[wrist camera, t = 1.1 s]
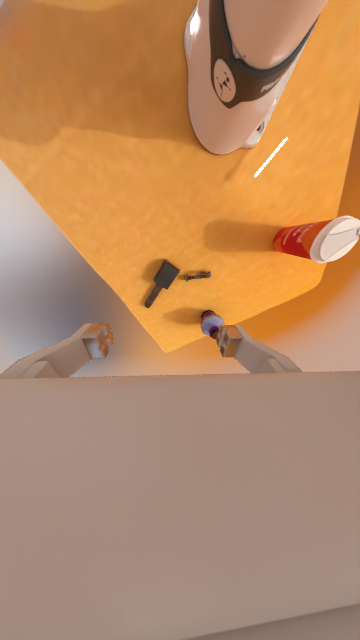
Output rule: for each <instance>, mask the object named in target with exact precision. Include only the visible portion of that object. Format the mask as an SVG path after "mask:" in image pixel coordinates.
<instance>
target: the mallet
mask: <svg viewBox="0 0 360 640" xmlns="http://www.w3.org/2000/svg"><path fill="white" fill-rule="evenodd" d="M179 271H180V269H178V268H177V267H176V266H174V265H173V264H172V263H170V262H169V261H167V260H166V259H165V261H164V262H163V264H162V266H161V268H160V269H159V271H158V273H157V274H156V276H155V278H154V281H155V282H156V283H157V284H156V286H155V288H154V289H153V291H152V293H151V294H150V296H149V297H148V299H147V301H146V302H145V307H146V308H149V307H150V306H151V305H152V303H153V301H154V300H155V298H156V297H157V295H158V294H159V292H160V291H161V289H162V287H164V288H165V289H168V288H169V286H170V285H171V283H172V282H173V280H174V279H175V277H176V276H177V274H178V273H179Z"/></svg>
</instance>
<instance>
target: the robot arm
mask: <svg viewBox="0 0 360 640" xmlns="http://www.w3.org/2000/svg"><path fill="white" fill-rule="evenodd" d="M328 1H329V0H198V2H197V5H196V6H195V8H194V10H193V12H192V14H191V16H190V18H189V20H188V22H187V24H186V28H185V34H184V49H185V56H186V61H187V66H188V108H189V115H190V119H191V123H192V127H193V130H194V132H195V134H196V136H197V138H198V140H199V141H200V143H201V144H202V145H203V146H204V147H205V148H206V149H207V150H208V151H210V152H212V153H214V154H218V155H223V154H228V153H230V152H232V151H234V150H236V149H238V148H241V147H242V148H253V147H254V146H255V145H256V144H257V143H258V141H259V140H260V138H261V136H262V133H263V131H264V129H265V127H266V125H267V123H268V121H269V119H270V117H271V115H272V113H273V111H274V109H275V107H276V105H277V103H278V101H279V98H280V96H281V94H282V92H283V90H284V88H285V86H286V84H287V82H288V80H289V78H290V76H291V74H292V72H293V70H294V68H295V66H296V64H297V61H298V59H299V57H300V55H301V53H302V51H303V49H304V47H305V45H306V43H307V41H308V39H309V37H310V35H311V33H312V31H313V29H314V26H315V24H316V22H317V20H318V18H319V15H320V13H321V12H322V10H323V9H324V7H325V6H326V4H327V3H328ZM258 127H259V131H257V128H258ZM287 139H288V138H285V139H284V140H283V142H282V143H281V144H280V145H279V147H278V148H277V149H276V150H275V151H274V153H273V154H272V155H271V156H270V157H269V159H268V160H267V161H266V162H265V163H264V165H263V166H262V167H261V168H260V169H259V171H258V172H257V173H256V174H255V175H254V177H256V176H257V175H258V174H259V173H260V171H261V170H262V169H263V168H264V167H265V165H266V164H267V163H268V162H269V161H270V159H271V158H272V157H273V156H274V155H275V153H276V152H277V151H278V150H279V149H280V148H281V146H282V145H283V144H284V143H285V142H286V140H287ZM110 330H111V327H110V325H109V324H98V323H97V324H96V323H95V324H93V323H86V324H84V325H83V326H82V327H81V328H80V329H79V330H78V331H77V332H76V333H75V334H74V335H73V336H72V337H71V338H67V339H64V340H62V341H60V342H58V343H56V344H53V345H51V346H49V347H47V348H44V349H42V350H40V351H38V352H35V353H33V354H31V355H29V356H27V357H24V358H22V359H20V360H18V361H16V362H15V363H14V364H13V365H11V366H10V367H9V368H8V369H7V370H5V371H4V372H3V373H2V374H0V640H360V371H338V372H302V371H301V370H300V369H299V368H298V367H297V366H296V365H295V364H294V363H293V361H291V359H290V358H289V357H287V356H285V355H283V354H281V353H279V352H277V351H276V350H274V349H272V348H270V347H268V346H266V345H264V344H262V343H261V342H259V341H257V340H255V339H251V338H250V336H249V335H248V334H247V333H246V331H245V330H244V329H243V328H242V326H240V325H220V327H219V331H220V332H219V333H218V334H217V338H216V341H217V345H218V346H219V347H220V348H221V349H220V352H221V354H222V356H223V357H234V358H235V359H236V360H237V361H238V362H239V363H241V364H242V365H243V366H244V367H245V368H246V369H247V370H249V371H250V372H251V373H249V374H208V375H207V374H203V375H160V376H159V375H158V376H115V377H72V378H71V377H70V376H71V375H72V374H74V373H75V372H76V371H77V370H78V369H80V368H81V367H82V366H83V365H85V364H86V363H88V362H89V361H90V360H91V359H99V358H105V357H106V355H107V353H108V351H109V350H108V348H109V347H111V346H112V344H113V340H114V339H113V334H112V333H111V332H110ZM68 377H70V378H68Z"/></svg>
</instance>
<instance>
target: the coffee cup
mask: <svg viewBox="0 0 360 640" xmlns="http://www.w3.org/2000/svg"><path fill="white" fill-rule="evenodd" d="M359 234H360V221H359V220H358V219H356V218H353V217H352V216H341V217H338V218H336V219H334V220H328V221H322V222H316V223H310V224H304V225H298V226H292V227H287V228H284V229H282V230H281V231H280V232H279V233H278V234H277V235H276V237H275V239H274V242H273V247H274V249H275V250H276V251H279V252H282V253H286V254H290V255H295V256H299V257H303V258H307V259H311V260H313V261H314V262H317V263H325V262H330V261H333V260H336V259H338V258H340V257H342V256H343V255H345V254H346V253H347V252H348V251H349V250H350V249H351V248H352V247H353V246H354V245H355V244H356V242H357V240H358V239H359V237H358V235H359Z"/></svg>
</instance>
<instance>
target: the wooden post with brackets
mask: <svg viewBox="0 0 360 640" xmlns="http://www.w3.org/2000/svg"><path fill="white" fill-rule="evenodd" d="M210 273H211V272H210V271H209V272H208V273H207V274H206V273H205V272H201V273H200V274H199V275H195V276H188V275H186V276H185V279H186V282H187V281H188V280H191V279H199V278H200V279H201V278H209V277H211V276H212V275H211V274H210Z"/></svg>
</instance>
